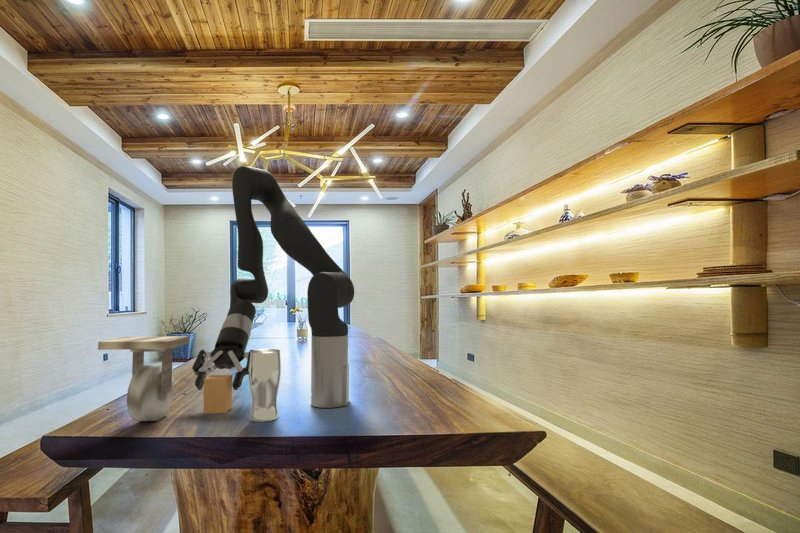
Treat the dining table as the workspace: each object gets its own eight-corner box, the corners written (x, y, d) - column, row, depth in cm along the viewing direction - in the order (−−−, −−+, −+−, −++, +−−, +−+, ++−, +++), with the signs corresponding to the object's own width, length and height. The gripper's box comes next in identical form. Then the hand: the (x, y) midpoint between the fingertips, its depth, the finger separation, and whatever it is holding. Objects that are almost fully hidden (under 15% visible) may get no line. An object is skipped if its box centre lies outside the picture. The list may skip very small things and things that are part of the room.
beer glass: (286, 418, 98) (287, 350, 99) (258, 425, 93) (258, 354, 94) (270, 412, 103) (270, 348, 104) (242, 418, 98) (243, 351, 99)
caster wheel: (194, 411, 103) (196, 334, 104) (164, 430, 89) (167, 341, 90) (134, 412, 103) (136, 334, 104) (95, 431, 89) (98, 341, 90)
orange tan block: (231, 408, 107) (232, 375, 107) (224, 413, 102) (225, 378, 103) (211, 408, 107) (211, 375, 107) (203, 413, 102) (204, 378, 103)
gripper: (203, 325, 114) (181, 379, 102) (258, 325, 114) (243, 379, 102) (211, 343, 119) (191, 396, 107) (264, 343, 119) (250, 396, 107)
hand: (216, 388), depth 104 cm, fingers open, 8 cm apart
